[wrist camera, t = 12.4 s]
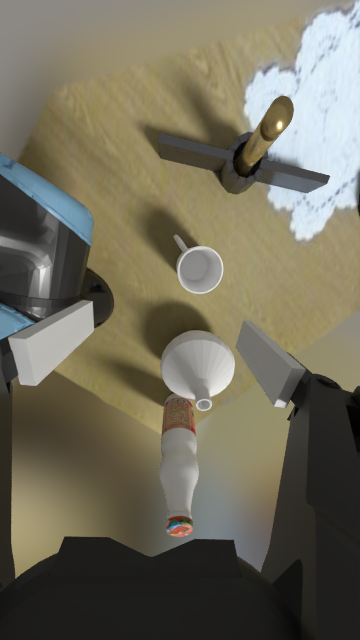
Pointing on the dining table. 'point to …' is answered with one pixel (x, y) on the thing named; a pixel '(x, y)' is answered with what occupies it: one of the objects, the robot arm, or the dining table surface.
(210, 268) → the mug
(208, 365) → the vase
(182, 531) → the fruit juice
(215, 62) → the dining table surface
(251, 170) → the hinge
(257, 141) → the pin
